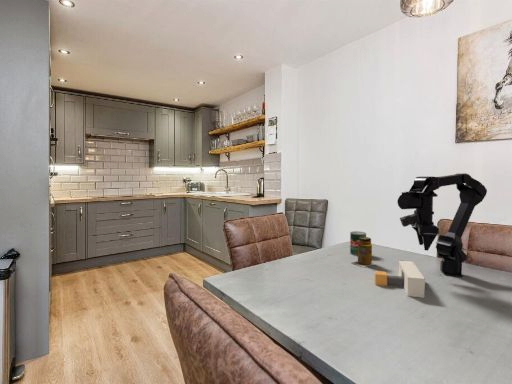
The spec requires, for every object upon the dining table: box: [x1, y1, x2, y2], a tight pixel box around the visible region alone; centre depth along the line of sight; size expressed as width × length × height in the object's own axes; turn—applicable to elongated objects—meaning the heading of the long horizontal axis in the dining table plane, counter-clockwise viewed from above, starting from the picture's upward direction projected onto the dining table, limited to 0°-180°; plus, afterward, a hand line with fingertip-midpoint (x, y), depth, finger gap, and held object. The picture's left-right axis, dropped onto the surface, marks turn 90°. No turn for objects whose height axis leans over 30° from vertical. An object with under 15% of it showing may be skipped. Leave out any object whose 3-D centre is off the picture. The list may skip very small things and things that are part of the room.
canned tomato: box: [349, 230, 367, 256], centre depth 151 cm, size 8×8×11 cm
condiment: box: [351, 236, 375, 268], centre depth 134 cm, size 7×8×12 cm
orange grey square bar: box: [374, 270, 404, 288], centre depth 108 cm, size 15×4×4 cm, turn 71°
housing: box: [398, 260, 426, 299], centre depth 106 cm, size 5×20×6 cm, turn 161°
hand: (423, 247), depth 115 cm, fingers open, 9 cm apart
